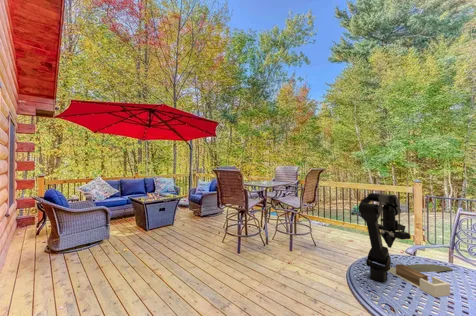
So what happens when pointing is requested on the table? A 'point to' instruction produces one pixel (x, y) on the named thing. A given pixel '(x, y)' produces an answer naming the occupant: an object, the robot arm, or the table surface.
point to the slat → (410, 274)
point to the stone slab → (429, 268)
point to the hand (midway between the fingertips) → (389, 247)
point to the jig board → (393, 271)
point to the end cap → (435, 287)
